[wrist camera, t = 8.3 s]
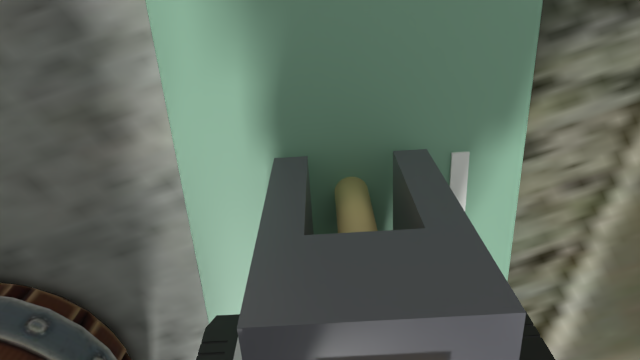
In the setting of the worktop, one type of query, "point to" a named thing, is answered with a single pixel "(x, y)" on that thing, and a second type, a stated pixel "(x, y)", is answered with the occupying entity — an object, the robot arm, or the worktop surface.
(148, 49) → the worktop surface
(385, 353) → the grey slotted block
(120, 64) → the worktop surface
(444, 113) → the board
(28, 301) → the mug
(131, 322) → the worktop surface
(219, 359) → the robot arm
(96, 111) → the worktop surface
